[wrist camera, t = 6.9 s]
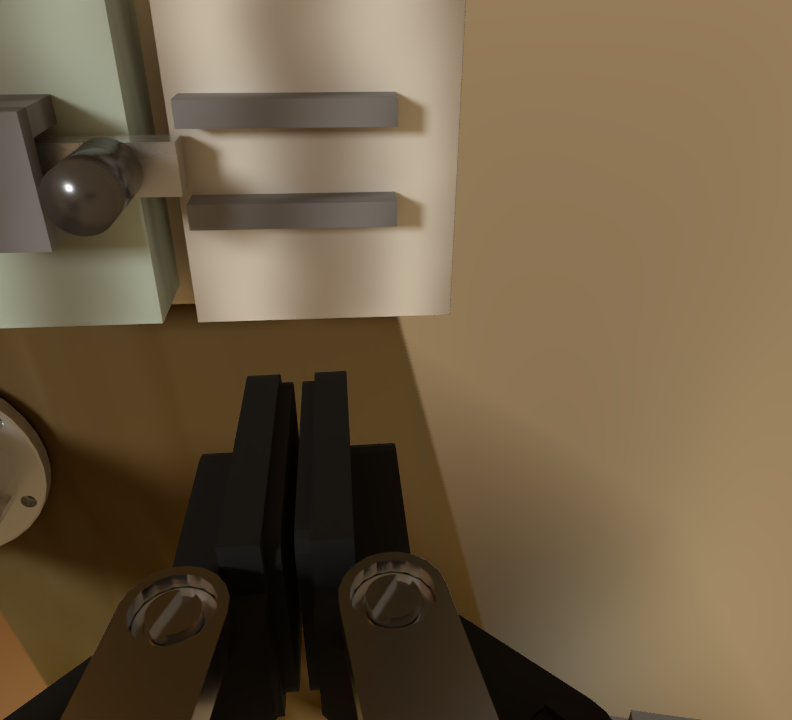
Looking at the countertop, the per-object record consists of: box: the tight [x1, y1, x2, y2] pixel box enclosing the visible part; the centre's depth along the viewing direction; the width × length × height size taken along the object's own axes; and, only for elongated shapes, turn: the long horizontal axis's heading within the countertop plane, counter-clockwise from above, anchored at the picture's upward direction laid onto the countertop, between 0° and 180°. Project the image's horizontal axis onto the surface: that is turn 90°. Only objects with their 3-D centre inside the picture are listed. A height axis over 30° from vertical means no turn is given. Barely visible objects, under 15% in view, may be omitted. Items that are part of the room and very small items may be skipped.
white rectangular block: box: [0, 0, 466, 328], centre depth 28 cm, size 20×16×9 cm
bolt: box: [34, 134, 188, 237], centre depth 24 cm, size 8×2×5 cm, turn 90°
